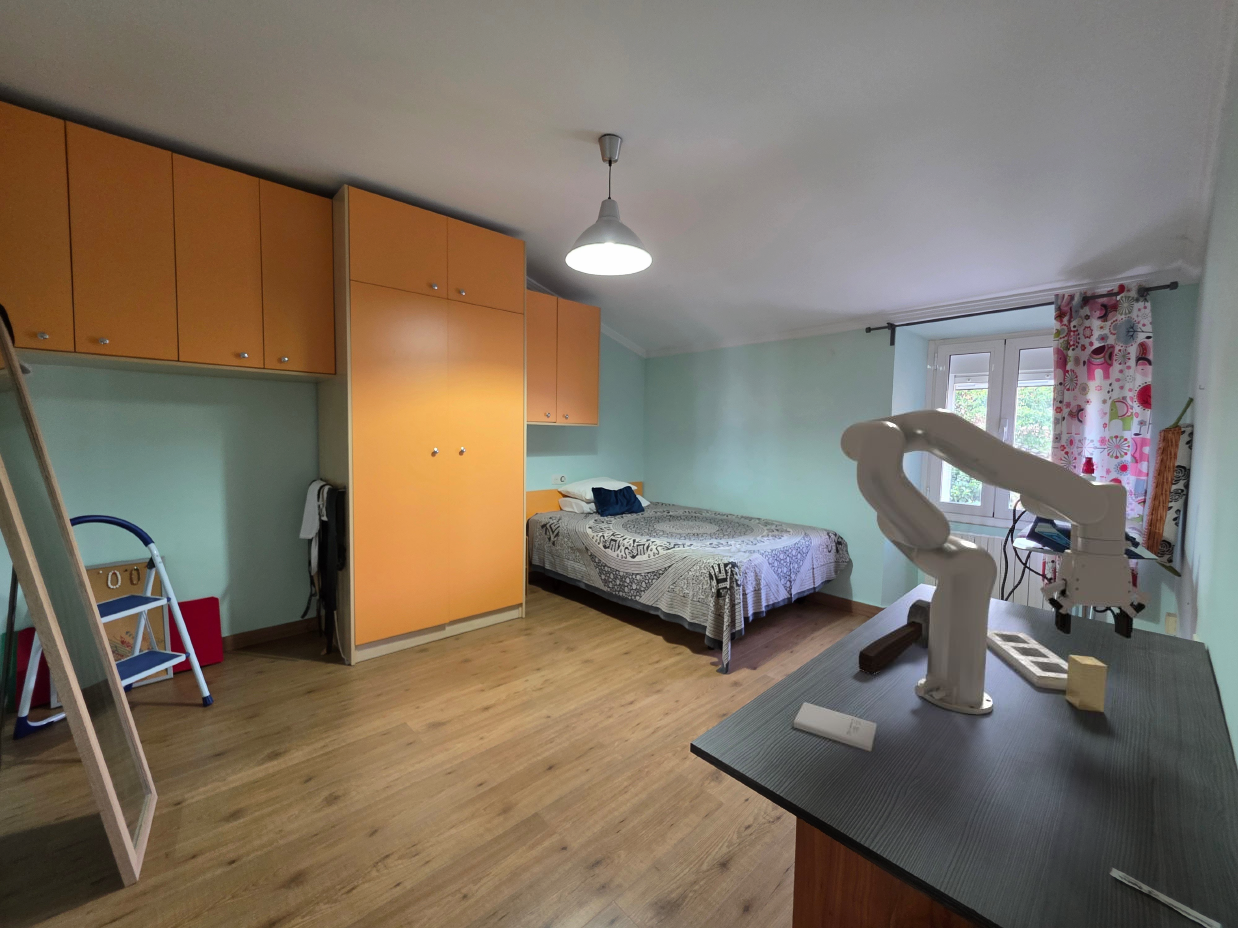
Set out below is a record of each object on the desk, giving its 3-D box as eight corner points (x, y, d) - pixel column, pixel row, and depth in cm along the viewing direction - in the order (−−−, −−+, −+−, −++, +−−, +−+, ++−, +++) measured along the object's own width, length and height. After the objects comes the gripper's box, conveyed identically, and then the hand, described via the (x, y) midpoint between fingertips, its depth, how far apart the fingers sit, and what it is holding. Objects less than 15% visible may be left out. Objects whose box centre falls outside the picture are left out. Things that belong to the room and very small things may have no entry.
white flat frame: (1093, 692, 103) (1094, 681, 103) (1036, 686, 105) (1037, 674, 105) (1023, 642, 128) (1023, 632, 128) (978, 638, 131) (979, 628, 130)
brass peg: (1103, 711, 96) (1107, 666, 95) (1078, 709, 97) (1082, 663, 96) (1089, 701, 100) (1092, 656, 99) (1065, 698, 101) (1068, 654, 100)
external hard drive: (804, 709, 96) (876, 730, 90) (793, 729, 89) (871, 754, 83) (804, 700, 96) (877, 721, 89) (793, 720, 89) (871, 745, 83)
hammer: (876, 693, 109) (938, 643, 126) (875, 644, 107) (938, 601, 124) (855, 684, 113) (918, 637, 130) (853, 636, 111) (917, 596, 128)
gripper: (1136, 543, 98) (1131, 629, 99) (1033, 540, 102) (1029, 623, 103) (1168, 552, 91) (1163, 645, 92) (1055, 548, 95) (1052, 637, 96)
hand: (1092, 633), depth 97 cm, fingers open, 9 cm apart
